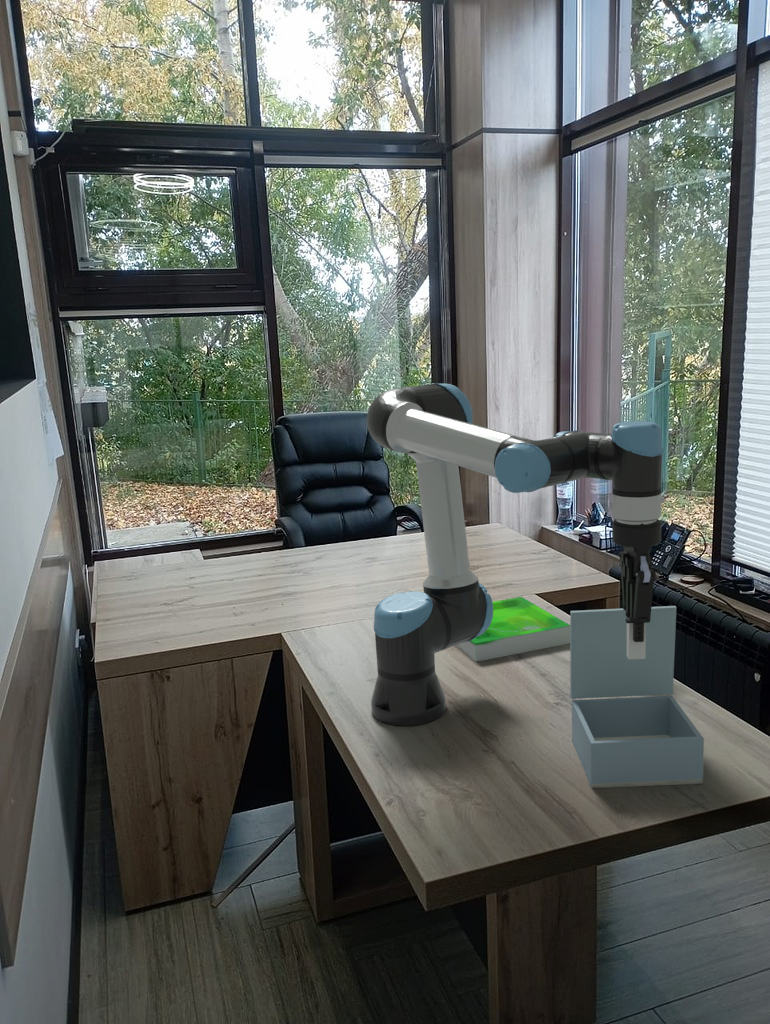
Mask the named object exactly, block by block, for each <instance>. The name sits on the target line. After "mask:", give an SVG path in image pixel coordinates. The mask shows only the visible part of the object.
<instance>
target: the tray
mask: <svg viewBox="0 0 770 1024" xmlns="http://www.w3.org/2000/svg"><path fill="white" fill-rule="evenodd" d="M492 603H493V618H492V621H491V624H490V626H489V628H488V629H487V630H486V631H485V632H484V633H483V634H482V635H480V636H478V637H476V638H474V639H473V640H471V641H468V642H463V643H461V644H458V645H455V646H456V647H457V648H459V649H460V650H462V652H463V653H465V654H466V655H467V656H468V657H469V658H471V659H472V660H473V661H474V662H475V661H477V662H481V661H486V660H487V661H488V660H491V659H498V658H503V657H508V656H512V655H518V654H522V653H527V652H534V651H537V650H543V649H548V648H553V647H558V646H559V647H560V646H564V645H569V644H570V624H569V623H567V622H565V621H564V620H562V619H561V618H558V617H557V616H555V615H554V614H551V613H550V612H548V611H547V610H546V609H543V608H542V607H540V606H538V605H536V604H535V603H533V602H531V601H529V600H528V599H526V598H524V597H522V596H517V597H511V598H507V599H499V600H495V601H492Z"/></svg>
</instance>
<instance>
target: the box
mask: <svg viewBox="0 0 770 1024" xmlns="http://www.w3.org/2000/svg"><path fill="white" fill-rule="evenodd" d="M571 729H572V730H571V738H572V739H571V741H572V744H573V747H574V748H575V751H576V753H577V756H578V758H579V761H580V764H581V766H582V768H583V771H584V773H585V775H586V778H587V780H588V784H589V785H590V788H591V789H603V788H604V789H605V788H606V789H607V788H628V787H629V788H630V787H655V786H657V787H658V786H677V785H699V784H700V785H701V784H702V785H703V784H704V751H705V750H704V747H705V746H704V745H705V744H704V743H705V742H704V741H705V739H704V736H702V734H701V733H700V731H699V730H698V729H697V727H696V726H695V725H694V723H693V722H692V720H691V719H690V718H689V717H688V715H687V714H686V713H685V711H684V710H683V708H682V707H681V705H680V704H679V703H678V701H677V700H676V699H675V698H674V696H673V695H654V696H632V697H610V698H588V699H571Z"/></svg>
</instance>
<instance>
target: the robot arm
mask: <svg viewBox="0 0 770 1024" xmlns="http://www.w3.org/2000/svg"><path fill="white" fill-rule="evenodd" d="M473 416H474V415H473V408H472V406H471V403H470V401H469V399H468V397H467V396H466V394H465V393H464V392H462V391H461V390H460V388H459V387H457V386H456V385H453V384H451V383H433V382H432V383H430V384H421V385H414V386H405V387H393V388H391V389H387V390H385V391H383V392H381V393H380V394H379V395H377V396H376V397H375V398H374V399H373V401H371V404H370V406H369V408H368V410H367V413H366V427H367V430H368V433H369V434H370V436H371V438H372V439H373V440H374V441H375V442H376V443H377V444H378V445H380V446H382V447H383V448H385V449H387V450H390V451H394V452H397V453H400V454H407V455H408V456H410V458H412V459H413V460H414V461H415V466H416V474H417V483H418V492H419V499H420V501H419V502H420V508H421V517H422V524H423V532H424V541H425V542H424V544H425V550H426V558H427V559H426V560H427V568H428V576H426V578H425V580H424V581H423V582H422V587H423V591H416V590H414V591H411V590H410V591H406V592H397V593H395V594H390V595H389V596H386V597H385V598H384V599H382V600H380V601H379V602H378V604H376V606H375V609H374V612H373V613H374V615H373V619H374V620H373V621H374V622H373V631H374V639H375V652H376V667H377V678H376V681H375V684H374V689H373V692H372V696H371V701H370V704H371V714H372V713H373V714H372V715H374V716H375V717H376V718H377V719H376V718H375V717H374V716H373V717H374V718H375V719H376V720H378V719H379V720H378V721H380V720H381V721H380V722H382V721H383V722H382V723H384V722H385V724H389V725H393V726H402V727H404V726H406V727H407V726H409V727H410V726H418V725H423V724H427V723H429V722H432V721H435V720H437V719H439V718H440V717H441V716H443V714H444V713H445V712H446V709H447V707H446V706H447V705H446V697H445V692H444V691H443V688H442V685H441V682H440V681H439V678H438V675H437V673H436V663H435V662H436V660H435V654H436V653H440V652H441V651H445V650H447V649H449V648H451V647H454V646H456V645H458V644H461V643H463V642H468V641H471V640H473V639H474V638H476V637H478V636H480V635H482V634H483V633H484V632H485V631H486V630H487V629H488V628H489V626H490V624H491V621H492V618H493V603H492V602H493V599H492V596H491V594H490V593H487V592H488V589H487V588H486V587H485V586H484V585H483V584H481V583H480V582H479V576H477V575H476V573H474V572H472V570H471V568H470V559H469V558H470V557H469V550H468V541H467V532H466V531H467V530H466V521H465V514H464V505H463V493H462V487H461V477H460V467H461V468H464V469H468V470H470V471H474V472H477V473H480V474H483V475H486V476H490V477H492V478H495V479H496V480H497V482H498V483H499V484H500V485H502V487H503V488H504V490H506V491H508V492H510V493H514V494H518V493H520V494H521V493H532V492H535V491H538V490H540V489H545V488H548V487H551V486H556V485H561V484H564V483H570V482H573V481H574V482H575V481H578V480H581V479H598V480H606V481H611V484H612V485H611V491H612V492H611V517H612V518H614V520H613V521H612V522H611V523H612V527H611V528H612V530H611V531H612V532H611V533H612V534H611V535H612V542H613V543H614V544H615V545H617V546H619V547H623V551H619V553H618V558H619V563H620V579H621V595H622V608H623V610H626V613H625V614H626V617H627V618H625V620H626V623H627V657H628V659H646V623H649V622H650V620H651V618H650V617H651V607H653V605H652V604H653V596H654V595H653V594H654V593H653V592H654V583H655V579H656V576H657V572H656V571H655V570H654V569H651V568H652V567H653V557H652V555H650V551H649V550H650V549H651V548H652V547H656V546H658V545H659V544H660V543H661V542H662V521H661V520H660V518H661V516H662V504H664V503H665V501H666V499H665V497H664V496H662V474H663V473H662V470H663V468H662V466H663V454H664V448H663V441H662V440H663V439H662V427H661V426H660V425H659V424H658V423H657V422H654V421H645V420H644V421H635V420H634V421H633V420H632V421H622V422H618V423H615V424H614V425H613V426H612V428H611V429H612V430H611V433H601V432H588V431H581V430H576V429H575V430H572V431H570V430H569V431H559V432H557V433H556V434H555V435H554V436H553V437H551V438H545V439H539V440H535V439H529V438H525V437H522V436H517V435H514V434H511V433H507V432H502V431H499V430H496V429H492V428H488V427H486V426H485V427H484V426H480V425H478V424H477V425H476V424H473V421H474V417H473Z"/></svg>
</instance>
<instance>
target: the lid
mask: <svg viewBox="0 0 770 1024" xmlns="http://www.w3.org/2000/svg"><path fill="white" fill-rule="evenodd" d="M625 613H626V610H623V607H622V608H607V609H606V608H603V609H586V610H585V609H584V610H570V618H569V619H570V622H569V623H570V624H569V625H570V648H569V649H570V657H569V658H570V661H569V663H570V664H569V665H570V667H569V669H570V670H569V673H570V674H569V675H570V676H569V677H570V678H569V679H570V680H569V681H570V682H569V683H570V684H569V687H570V689H569V691H570V692H569V694H570V695H569V697H570V699H571V700H579V699H600V698H622V697H644V696H666V695H673V692H674V671H675V652H676V650H675V649H676V646H675V645H676V628H677V626H676V625H677V606H676V605H667V606H665V605H663V606H651V617H650V618H651V620H650V622H649V623H646V659H628V657H627V623H626V620H625V618H627V617H626V614H625Z"/></svg>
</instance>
